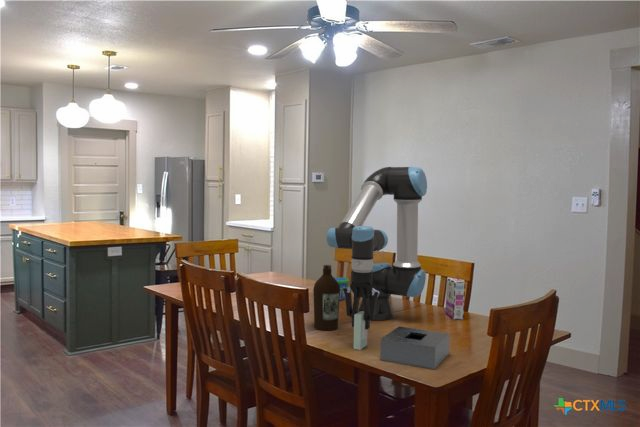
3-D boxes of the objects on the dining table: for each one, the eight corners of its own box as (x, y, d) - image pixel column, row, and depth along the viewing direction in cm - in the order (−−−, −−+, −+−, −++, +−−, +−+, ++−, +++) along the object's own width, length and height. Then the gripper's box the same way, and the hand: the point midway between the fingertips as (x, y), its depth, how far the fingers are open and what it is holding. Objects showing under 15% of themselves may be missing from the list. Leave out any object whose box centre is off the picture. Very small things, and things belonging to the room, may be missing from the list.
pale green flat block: (353, 348, 188) (354, 314, 187) (360, 344, 193) (361, 311, 193) (360, 349, 187) (360, 315, 186) (366, 345, 192) (367, 312, 191)
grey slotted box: (380, 359, 177) (380, 338, 177) (398, 345, 193) (399, 326, 193) (434, 369, 169) (435, 347, 168) (448, 353, 185) (449, 333, 184)
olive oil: (308, 325, 218) (309, 263, 216) (332, 323, 222) (333, 262, 221) (319, 332, 208) (320, 267, 207) (344, 329, 213) (345, 266, 211)
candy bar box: (464, 320, 232) (465, 282, 231) (453, 320, 232) (454, 282, 231) (455, 313, 243) (457, 277, 242) (444, 313, 243) (446, 277, 242)
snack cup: (340, 295, 279) (341, 275, 278) (355, 298, 271) (356, 278, 271) (318, 299, 268) (319, 278, 267) (334, 303, 260) (334, 282, 260)
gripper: (337, 270, 189) (335, 336, 190) (379, 274, 182) (377, 343, 183) (346, 267, 195) (344, 331, 197) (386, 271, 188) (385, 338, 190)
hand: (360, 337), depth 190 cm, fingers closed on pale green flat block, 2 cm apart
